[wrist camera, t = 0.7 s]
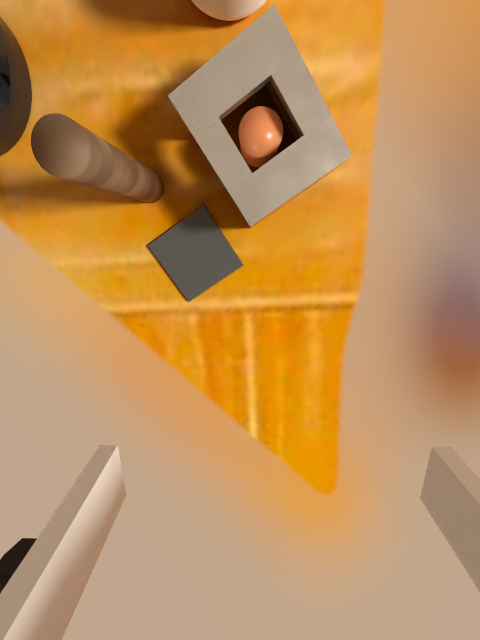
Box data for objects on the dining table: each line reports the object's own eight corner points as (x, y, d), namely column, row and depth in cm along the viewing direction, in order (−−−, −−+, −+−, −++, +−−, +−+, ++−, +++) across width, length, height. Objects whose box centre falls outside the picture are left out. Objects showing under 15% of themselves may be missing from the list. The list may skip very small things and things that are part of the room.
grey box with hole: (188, 129, 31) (167, 95, 23) (268, 64, 29) (274, 4, 22) (250, 228, 34) (250, 226, 26) (328, 174, 32) (352, 155, 24)
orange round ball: (233, 141, 30) (229, 125, 25) (265, 116, 29) (267, 95, 24) (253, 175, 30) (254, 166, 26) (285, 152, 30) (291, 138, 25)
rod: (127, 182, 33) (19, 138, 18) (151, 163, 32) (60, 100, 17) (146, 209, 34) (58, 189, 18) (170, 191, 33) (99, 154, 18)
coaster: (149, 245, 35) (147, 245, 34) (203, 205, 33) (203, 204, 33) (189, 301, 36) (188, 301, 36) (243, 264, 35) (243, 265, 35)
